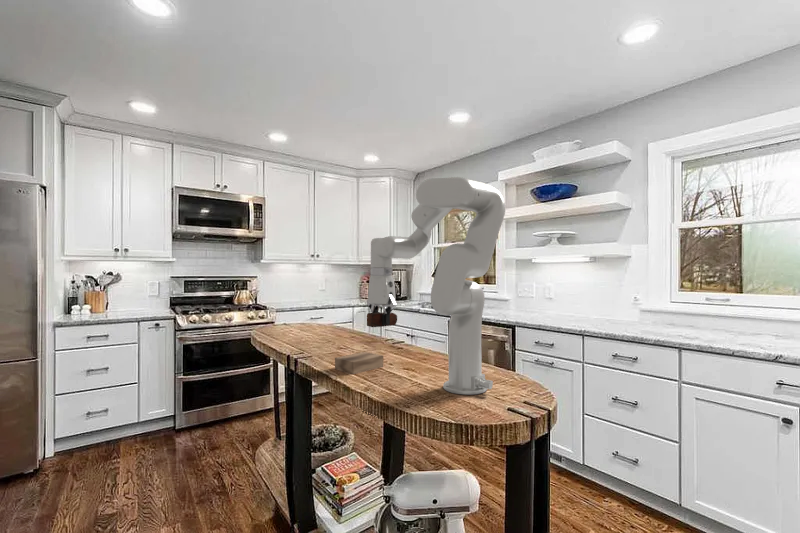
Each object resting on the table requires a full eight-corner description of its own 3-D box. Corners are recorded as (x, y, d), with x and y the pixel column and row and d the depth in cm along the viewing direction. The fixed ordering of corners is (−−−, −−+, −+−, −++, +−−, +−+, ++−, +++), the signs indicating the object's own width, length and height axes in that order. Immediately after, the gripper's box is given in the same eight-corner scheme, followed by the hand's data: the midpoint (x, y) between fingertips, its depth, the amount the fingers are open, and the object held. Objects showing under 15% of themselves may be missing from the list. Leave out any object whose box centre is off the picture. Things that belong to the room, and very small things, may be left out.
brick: (372, 327, 139) (372, 314, 139) (366, 326, 142) (366, 313, 142) (397, 325, 145) (397, 312, 145) (391, 324, 149) (391, 311, 149)
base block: (383, 366, 145) (383, 355, 145) (353, 374, 135) (353, 362, 135) (364, 362, 152) (364, 351, 152) (334, 369, 142) (334, 357, 142)
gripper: (405, 273, 140) (405, 325, 140) (373, 272, 152) (372, 321, 152) (390, 273, 135) (389, 327, 135) (357, 272, 147) (357, 322, 147)
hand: (380, 323), depth 144 cm, fingers closed on brick, 4 cm apart
